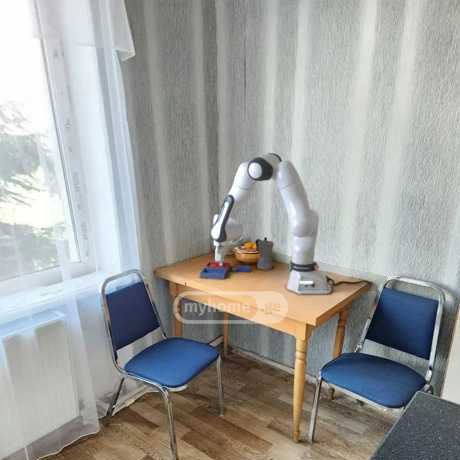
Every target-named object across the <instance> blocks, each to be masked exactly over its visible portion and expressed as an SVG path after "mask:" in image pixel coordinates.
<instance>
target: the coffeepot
mask: <svg viewBox="0 0 460 460" xmlns="http://www.w3.org/2000/svg"><path fill="white" fill-rule="evenodd" d="M254 243H255V247H256V252H257V251H258V252H259V253H258V252H257V253H258V259H257V264H256V268H257V269H259V270H262V271H263V270H264V271H267V270H271V269H272V268H273V260H272V254H273V250H274V249H273V248H274V242H273V241H272V240H268V237H265V236H264V238H263V240H262V239H259V238H257V239H256V240H255V242H254Z"/></svg>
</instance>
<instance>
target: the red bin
mask: <svg viewBox="0 0 460 460" xmlns="http://www.w3.org/2000/svg"><path fill="white" fill-rule="evenodd" d="M215 263H216V261H207V263H206V264H205V266H204V268H222V269H227V273H228V272H229V270H230V269H231V262H225V261H224V263H228V266H227V267H210V265H211V264H214V265H215Z"/></svg>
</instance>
